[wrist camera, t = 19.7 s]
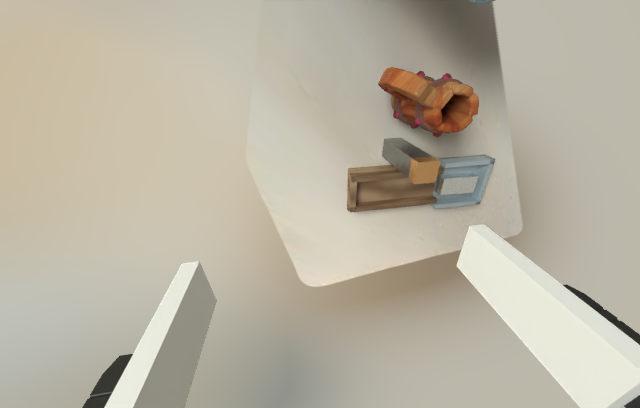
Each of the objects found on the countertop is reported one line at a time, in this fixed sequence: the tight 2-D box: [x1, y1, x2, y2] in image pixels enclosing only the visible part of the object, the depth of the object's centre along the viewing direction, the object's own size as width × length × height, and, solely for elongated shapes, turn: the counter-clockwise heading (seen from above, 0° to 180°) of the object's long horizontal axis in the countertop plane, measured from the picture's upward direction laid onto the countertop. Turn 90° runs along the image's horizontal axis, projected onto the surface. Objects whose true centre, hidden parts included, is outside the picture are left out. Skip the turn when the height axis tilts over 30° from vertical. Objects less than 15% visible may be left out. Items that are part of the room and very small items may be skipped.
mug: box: [378, 67, 479, 137], centre depth 36 cm, size 15×8×15 cm, turn 64°
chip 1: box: [434, 173, 462, 195], centre depth 52 cm, size 4×4×2 cm
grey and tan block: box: [382, 138, 441, 184], centre depth 42 cm, size 4×4×14 cm
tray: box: [430, 155, 495, 209], centre depth 52 cm, size 11×11×3 cm
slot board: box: [347, 165, 444, 212], centre depth 51 cm, size 10×20×3 cm, turn 92°
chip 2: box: [456, 172, 479, 194], centre depth 52 cm, size 4×4×2 cm
